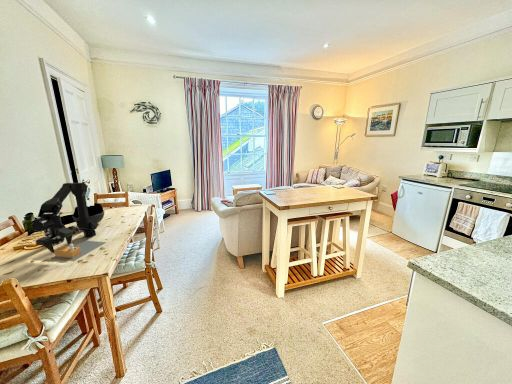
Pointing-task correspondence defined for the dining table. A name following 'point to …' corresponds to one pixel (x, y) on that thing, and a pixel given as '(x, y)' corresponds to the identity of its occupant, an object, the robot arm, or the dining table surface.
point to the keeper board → (81, 249)
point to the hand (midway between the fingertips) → (61, 248)
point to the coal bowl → (91, 213)
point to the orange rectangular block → (67, 252)
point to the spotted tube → (56, 240)
